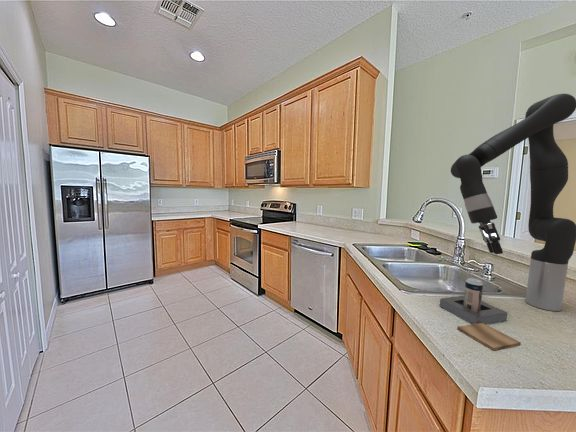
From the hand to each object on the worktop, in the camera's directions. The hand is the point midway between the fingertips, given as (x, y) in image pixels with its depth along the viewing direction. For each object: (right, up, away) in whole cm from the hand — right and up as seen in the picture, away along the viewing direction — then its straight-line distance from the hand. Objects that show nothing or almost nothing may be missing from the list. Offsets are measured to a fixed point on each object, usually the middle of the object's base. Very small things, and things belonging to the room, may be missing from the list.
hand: (496, 253), depth 81 cm
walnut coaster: (-15, -22, -13) cm, 30 cm away
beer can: (-9, -21, 0) cm, 23 cm away
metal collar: (-9, -21, 0) cm, 23 cm away
